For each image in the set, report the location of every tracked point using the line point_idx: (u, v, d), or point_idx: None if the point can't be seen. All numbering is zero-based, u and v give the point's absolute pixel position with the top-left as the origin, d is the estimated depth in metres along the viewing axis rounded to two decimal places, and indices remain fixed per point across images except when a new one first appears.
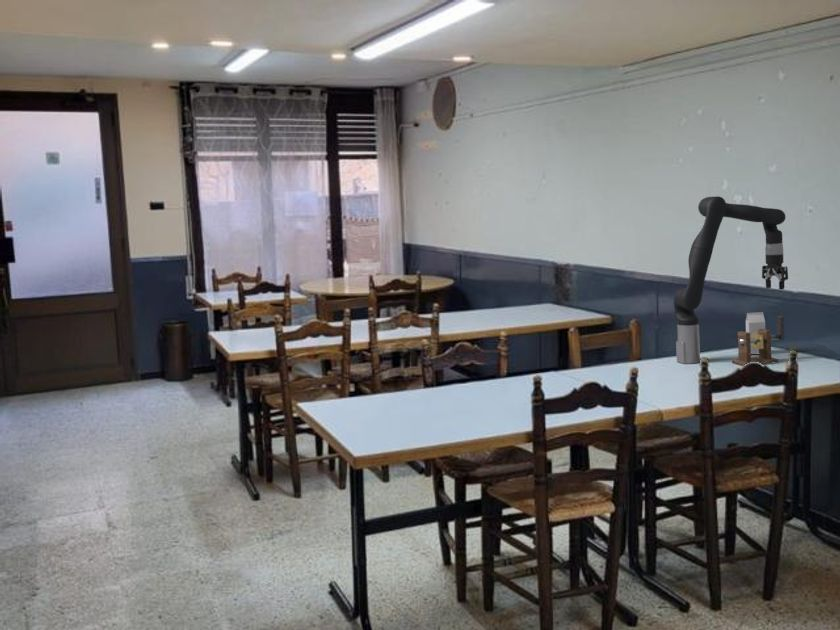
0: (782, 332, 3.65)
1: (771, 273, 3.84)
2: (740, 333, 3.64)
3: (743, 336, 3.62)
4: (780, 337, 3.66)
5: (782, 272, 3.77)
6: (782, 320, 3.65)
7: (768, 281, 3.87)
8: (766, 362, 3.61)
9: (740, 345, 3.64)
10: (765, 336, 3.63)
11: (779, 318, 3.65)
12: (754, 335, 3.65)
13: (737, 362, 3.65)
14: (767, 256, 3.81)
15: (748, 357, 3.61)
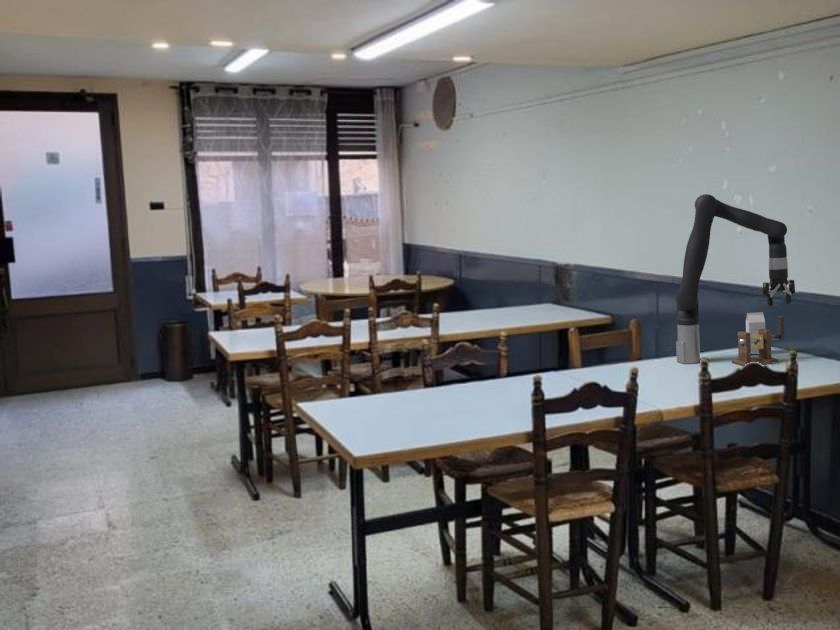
0: (782, 332, 3.65)
1: (778, 289, 3.63)
2: (740, 333, 3.64)
3: (743, 336, 3.62)
4: (780, 337, 3.66)
5: (793, 285, 3.65)
6: (782, 320, 3.65)
7: None
8: (766, 362, 3.61)
9: (740, 345, 3.64)
10: (765, 336, 3.63)
11: (779, 318, 3.65)
12: (754, 335, 3.65)
13: (737, 362, 3.65)
14: (783, 270, 3.60)
15: (748, 357, 3.61)
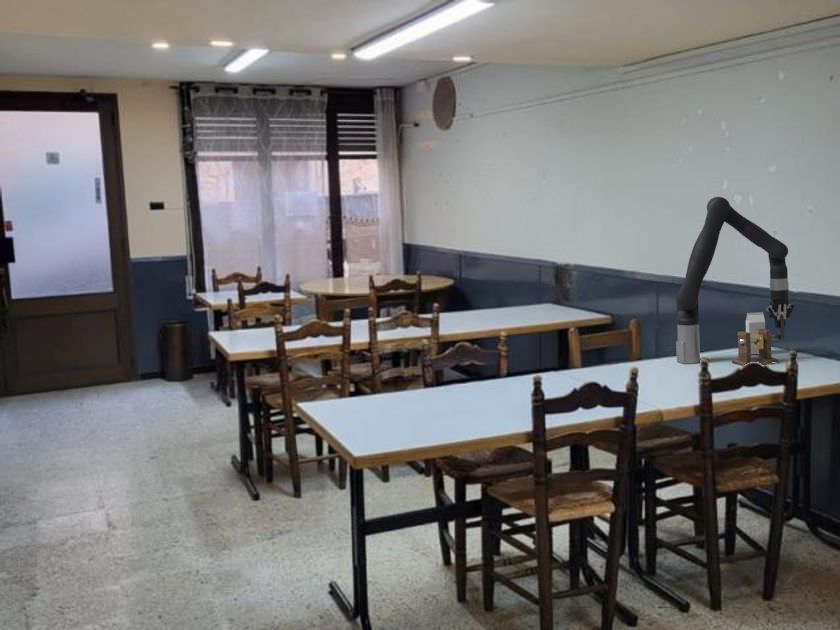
0: (782, 332, 3.65)
1: (781, 308, 3.64)
2: (740, 333, 3.64)
3: (743, 336, 3.62)
4: (780, 337, 3.66)
5: (791, 310, 3.66)
6: (782, 320, 3.65)
7: None
8: (766, 362, 3.61)
9: (740, 345, 3.64)
10: (765, 336, 3.63)
11: None
12: (754, 335, 3.65)
13: (737, 362, 3.65)
14: (784, 291, 3.61)
15: (748, 357, 3.61)
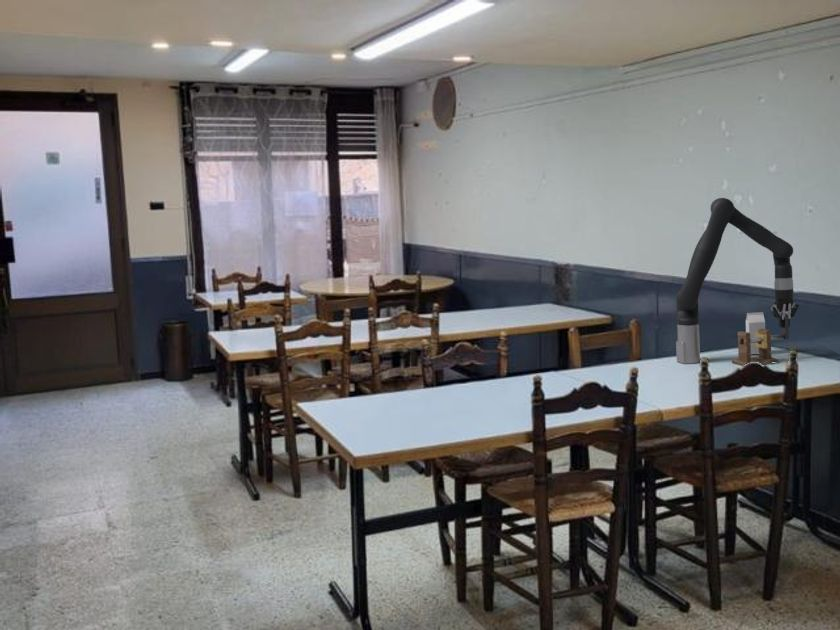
0: (787, 331, 3.66)
1: (786, 307, 3.65)
2: (740, 333, 3.64)
3: (743, 336, 3.62)
4: (785, 336, 3.66)
5: (795, 309, 3.66)
6: (787, 319, 3.65)
7: None
8: (766, 362, 3.61)
9: (740, 345, 3.64)
10: None
11: (784, 317, 3.66)
12: (758, 335, 3.66)
13: (737, 362, 3.65)
14: (788, 291, 3.61)
15: (748, 357, 3.61)
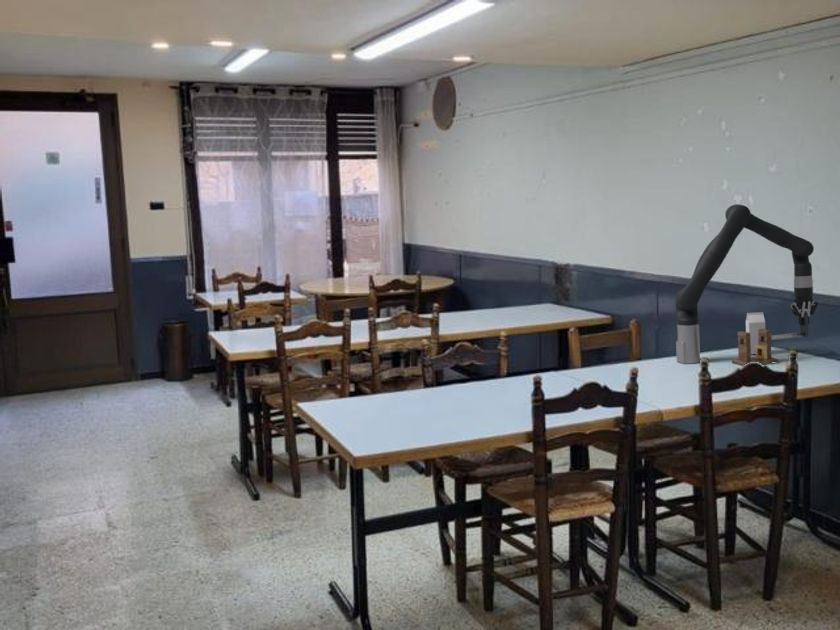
0: (806, 329, 3.68)
1: (805, 305, 3.67)
2: (740, 333, 3.64)
3: (743, 336, 3.62)
4: (804, 334, 3.68)
5: (815, 307, 3.68)
6: (806, 317, 3.67)
7: None
8: (766, 362, 3.61)
9: (740, 345, 3.64)
10: (765, 336, 3.63)
11: None
12: (758, 346, 3.66)
13: (737, 362, 3.65)
14: (808, 289, 3.63)
15: (748, 357, 3.61)
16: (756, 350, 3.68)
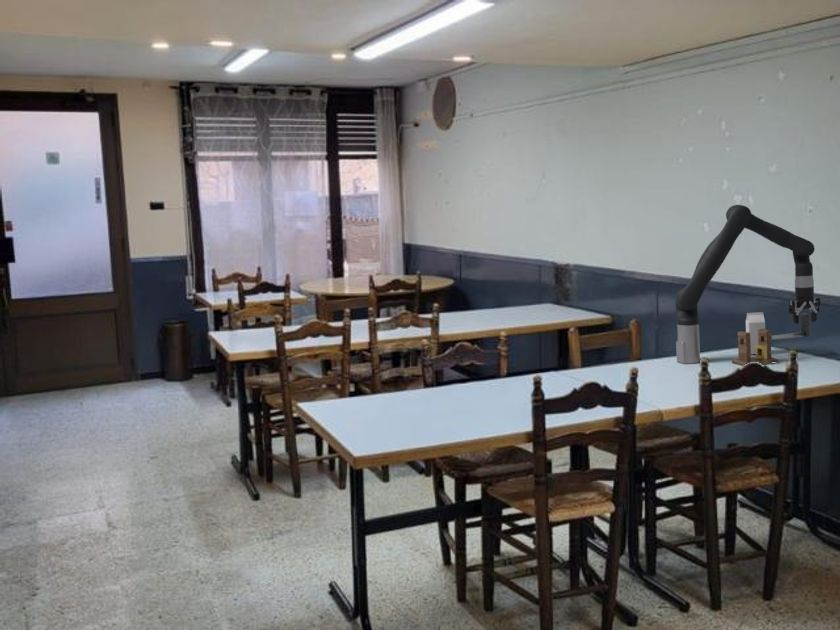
0: (807, 329, 3.68)
1: (804, 306, 3.67)
2: (740, 333, 3.64)
3: (743, 336, 3.62)
4: (805, 334, 3.68)
5: (819, 303, 3.68)
6: (807, 317, 3.67)
7: None
8: (766, 362, 3.61)
9: (740, 345, 3.64)
10: (765, 336, 3.63)
11: (804, 315, 3.68)
12: (758, 346, 3.66)
13: (737, 362, 3.65)
14: (809, 289, 3.64)
15: (748, 357, 3.61)
16: (756, 350, 3.68)
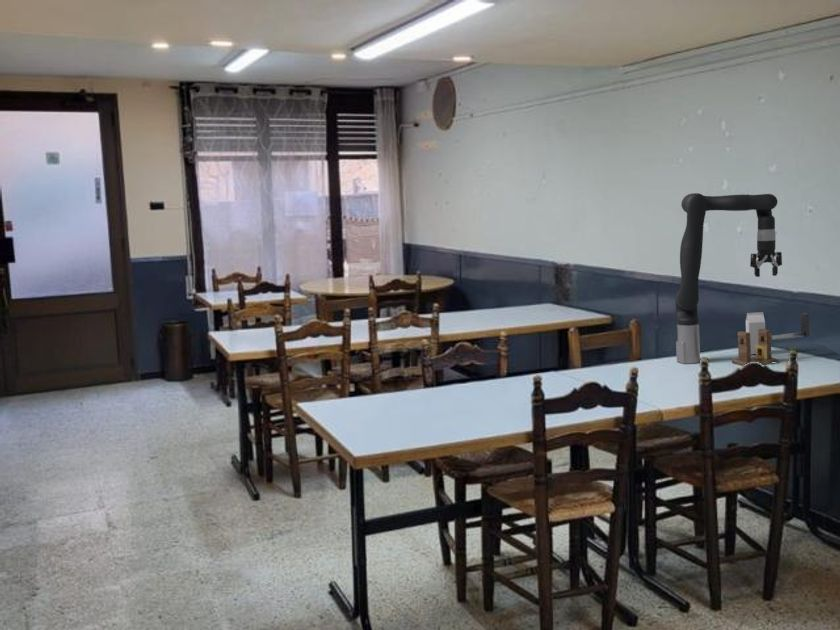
0: (807, 329, 3.68)
1: (766, 260, 3.70)
2: (740, 333, 3.64)
3: (743, 336, 3.62)
4: (805, 334, 3.68)
5: (780, 257, 3.72)
6: (807, 317, 3.67)
7: None
8: (766, 362, 3.61)
9: (740, 345, 3.64)
10: (765, 336, 3.63)
11: (804, 315, 3.68)
12: (758, 346, 3.66)
13: (737, 362, 3.65)
14: (770, 242, 3.67)
15: (748, 357, 3.61)
16: (756, 350, 3.68)
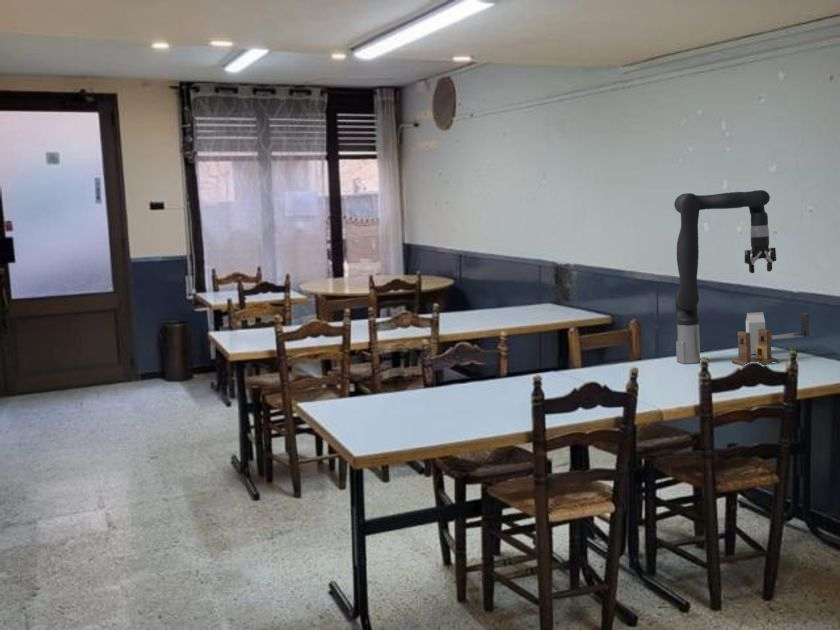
0: (807, 329, 3.68)
1: (760, 256, 3.71)
2: (740, 333, 3.64)
3: (743, 336, 3.62)
4: (805, 334, 3.68)
5: (774, 253, 3.72)
6: (807, 317, 3.67)
7: None
8: (766, 362, 3.61)
9: (740, 345, 3.64)
10: (765, 336, 3.63)
11: (804, 315, 3.68)
12: (758, 346, 3.66)
13: (737, 362, 3.65)
14: (764, 238, 3.67)
15: (748, 357, 3.61)
16: (756, 350, 3.68)
